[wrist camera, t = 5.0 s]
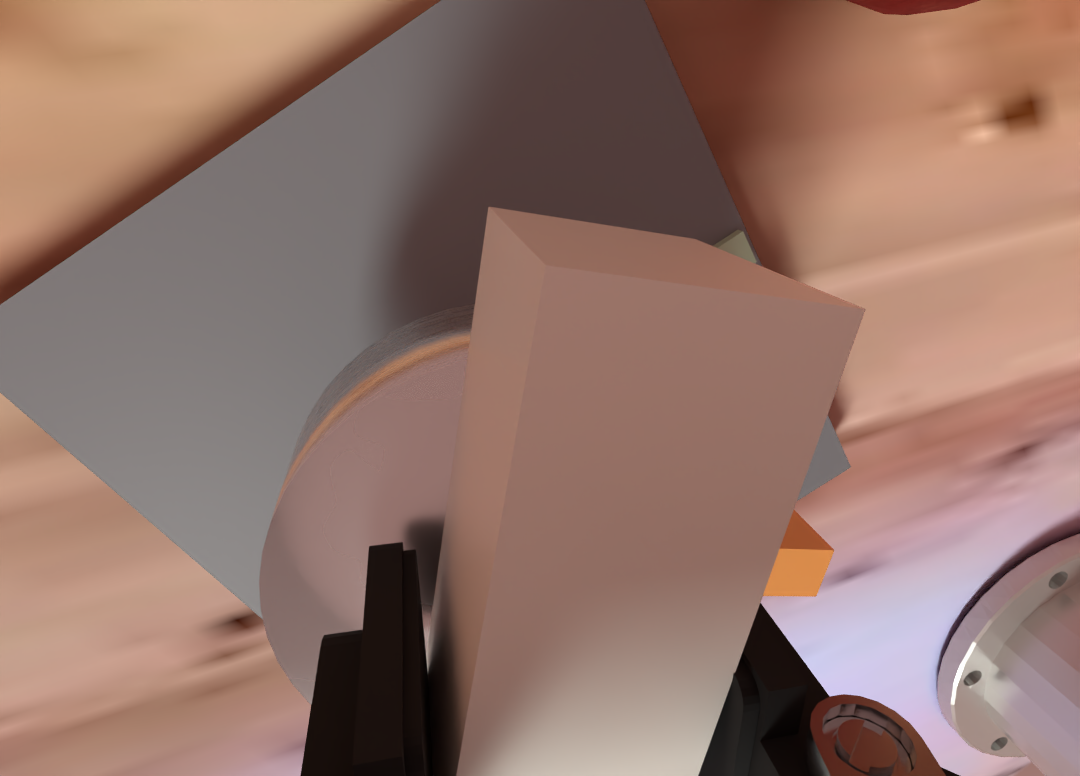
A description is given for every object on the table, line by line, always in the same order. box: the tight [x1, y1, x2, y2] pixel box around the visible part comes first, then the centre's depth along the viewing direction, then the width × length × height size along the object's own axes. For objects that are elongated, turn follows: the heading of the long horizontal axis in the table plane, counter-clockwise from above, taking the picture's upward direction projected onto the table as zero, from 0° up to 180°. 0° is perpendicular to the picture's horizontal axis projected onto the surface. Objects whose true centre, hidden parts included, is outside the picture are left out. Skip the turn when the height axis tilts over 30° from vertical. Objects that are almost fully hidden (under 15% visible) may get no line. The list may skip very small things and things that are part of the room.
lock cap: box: [259, 207, 865, 776], centre depth 12 cm, size 11×13×7 cm
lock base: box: [0, 0, 851, 619], centre depth 17 cm, size 18×18×6 cm
